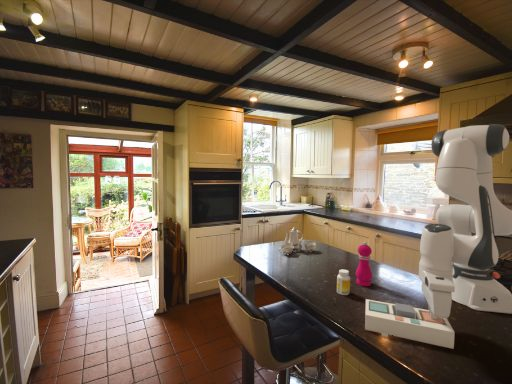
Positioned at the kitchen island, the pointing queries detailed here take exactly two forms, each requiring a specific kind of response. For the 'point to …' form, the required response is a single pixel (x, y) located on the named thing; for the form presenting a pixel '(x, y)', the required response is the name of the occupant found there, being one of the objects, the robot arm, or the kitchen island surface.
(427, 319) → the terracotta key
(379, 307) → the teal key
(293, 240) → the chinaware
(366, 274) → the pepper mill
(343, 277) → the supplement bottle
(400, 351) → the kitchen island surface
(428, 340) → the three-slot colour tray
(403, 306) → the slate key
